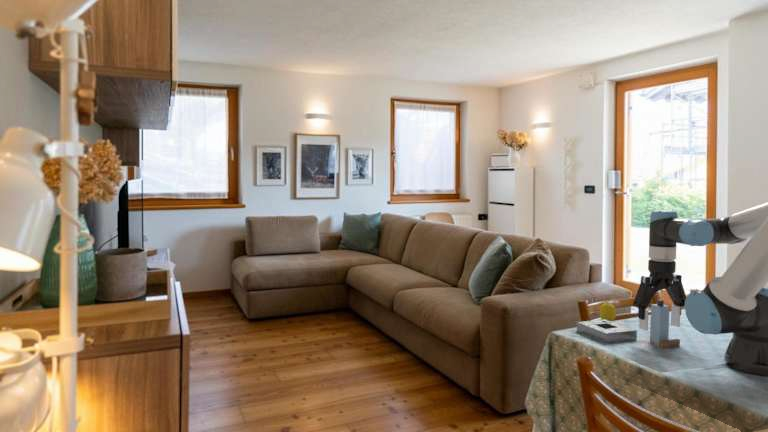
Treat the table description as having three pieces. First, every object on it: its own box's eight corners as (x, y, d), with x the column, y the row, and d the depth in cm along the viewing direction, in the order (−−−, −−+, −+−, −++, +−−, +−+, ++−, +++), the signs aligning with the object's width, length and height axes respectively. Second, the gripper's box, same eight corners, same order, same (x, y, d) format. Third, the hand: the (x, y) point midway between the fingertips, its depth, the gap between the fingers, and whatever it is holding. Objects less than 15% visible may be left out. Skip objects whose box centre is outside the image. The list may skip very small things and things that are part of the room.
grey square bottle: (668, 343, 162) (669, 301, 161) (659, 345, 160) (660, 301, 160) (658, 340, 165) (660, 298, 164) (649, 341, 164) (651, 299, 163)
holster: (679, 349, 160) (679, 339, 159) (661, 351, 157) (662, 341, 157) (656, 340, 168) (656, 331, 168) (638, 342, 166) (639, 333, 166)
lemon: (612, 321, 191) (613, 300, 190) (617, 325, 185) (618, 304, 185) (597, 321, 191) (597, 300, 191) (602, 325, 186) (602, 303, 185)
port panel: (636, 342, 166) (636, 329, 166) (606, 345, 163) (606, 332, 162) (605, 330, 180) (605, 318, 179) (576, 333, 176) (576, 320, 176)
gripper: (681, 256, 168) (679, 321, 170) (621, 259, 161) (619, 327, 162) (702, 259, 161) (699, 327, 163) (640, 263, 154) (637, 334, 155)
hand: (659, 327), depth 162 cm, fingers open, 12 cm apart
